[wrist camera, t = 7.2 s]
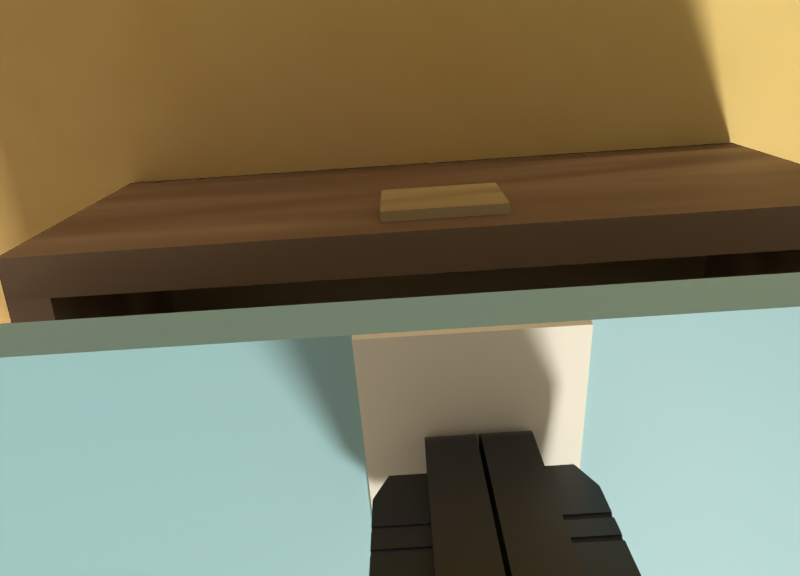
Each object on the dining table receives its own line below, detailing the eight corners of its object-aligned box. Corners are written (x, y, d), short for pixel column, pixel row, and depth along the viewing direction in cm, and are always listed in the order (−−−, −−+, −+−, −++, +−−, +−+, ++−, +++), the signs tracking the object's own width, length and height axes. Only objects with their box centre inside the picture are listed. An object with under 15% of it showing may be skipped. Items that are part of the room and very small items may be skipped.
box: (129, 175, 19) (-8, 247, 13) (732, 134, 19) (911, 186, 12) (205, 577, 24) (132, 787, 17) (697, 547, 23) (817, 749, 17)
